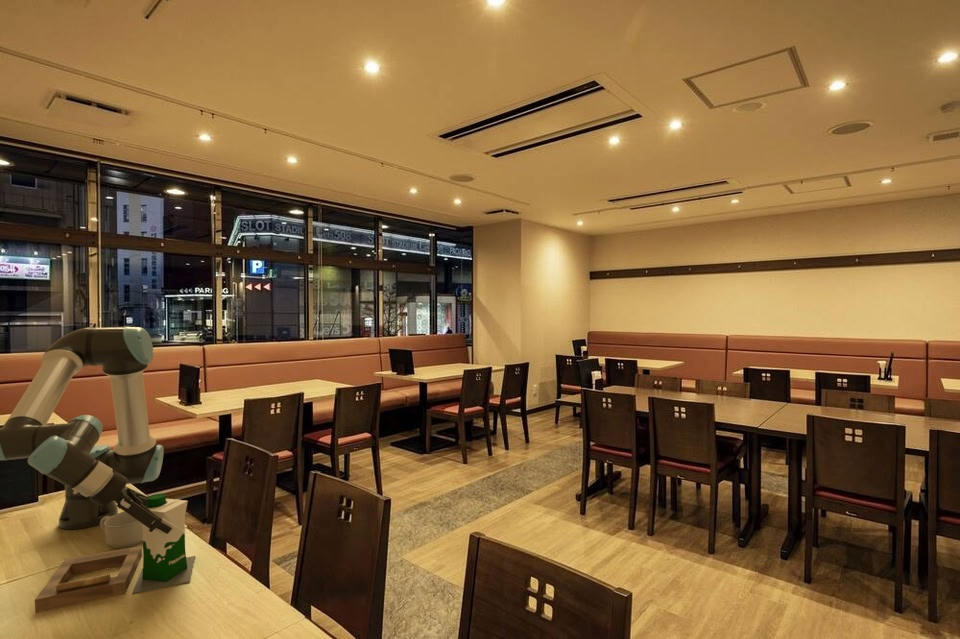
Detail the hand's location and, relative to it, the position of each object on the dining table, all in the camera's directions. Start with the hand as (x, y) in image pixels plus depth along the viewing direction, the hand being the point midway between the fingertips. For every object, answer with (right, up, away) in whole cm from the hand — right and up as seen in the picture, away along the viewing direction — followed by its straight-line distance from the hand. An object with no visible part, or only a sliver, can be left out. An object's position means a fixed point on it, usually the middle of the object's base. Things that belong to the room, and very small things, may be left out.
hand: (175, 527), depth 129 cm
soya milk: (-2, -12, -1) cm, 12 cm away
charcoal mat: (-2, -12, -1) cm, 12 cm away
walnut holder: (-18, -12, -4) cm, 22 cm away
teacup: (-25, -12, +17) cm, 32 cm away
